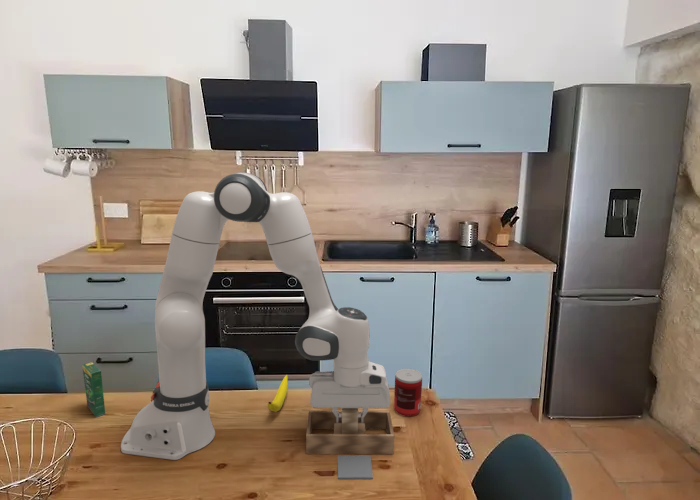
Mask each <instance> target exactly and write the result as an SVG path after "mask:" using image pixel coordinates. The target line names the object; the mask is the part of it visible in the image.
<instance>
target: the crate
mask: <svg viewBox="0 0 700 500" xmlns="http://www.w3.org/2000/svg"><path fill="white" fill-rule="evenodd" d="M390 411H391V410H368V412H367V414H366V415H365V417H364V418H363V423H358V434H342V423H336V416H335V415H334V413H333V412H332V410H308V415H307V424H306V434H305V435H306V437H305V439H306V440H305V450H306V451H305V455H394V450H395V433H394V428H393V423H392V418H391V412H390ZM361 412H362V410H358V414H361ZM338 413H341V414H342V410H338ZM312 430H333V433H312ZM366 430H386V431H385V432H386V433H380V434H379V433H366Z"/></svg>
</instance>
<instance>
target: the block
mask: <svg viewBox="0 0 700 500" xmlns="http://www.w3.org/2000/svg"><path fill="white" fill-rule="evenodd" d="M341 411H342V434H358V411H359V408H341Z"/></svg>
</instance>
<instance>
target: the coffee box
mask: <svg viewBox="0 0 700 500" xmlns="http://www.w3.org/2000/svg"><path fill="white" fill-rule="evenodd" d="M81 367H82V374H83V383H84V391H85V397H86V405H87V409H89V410H90V411H91V413H92V414H93V416H94V417H96V418H97V417H101V416H103V415H106V408H105V397H104V396H105V395H104V389H103V388H104V387H103V376H102V370H101V369H100V368H99V367H98V366H97V365H96V364H95V363H93V362H91V361H90V362H86V363H84V364H82V365H81Z"/></svg>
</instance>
